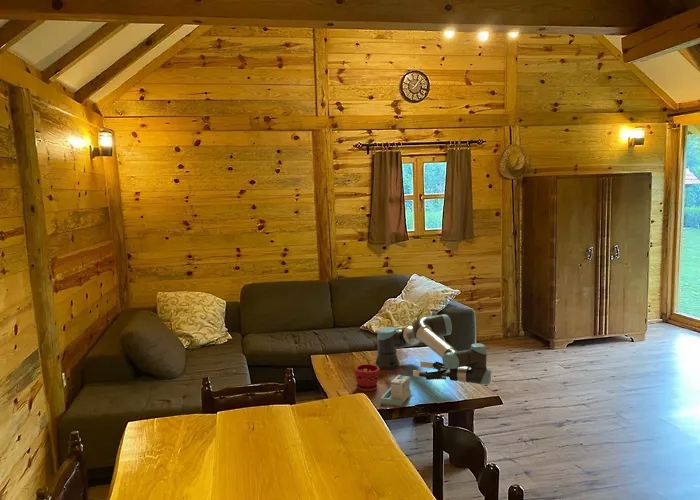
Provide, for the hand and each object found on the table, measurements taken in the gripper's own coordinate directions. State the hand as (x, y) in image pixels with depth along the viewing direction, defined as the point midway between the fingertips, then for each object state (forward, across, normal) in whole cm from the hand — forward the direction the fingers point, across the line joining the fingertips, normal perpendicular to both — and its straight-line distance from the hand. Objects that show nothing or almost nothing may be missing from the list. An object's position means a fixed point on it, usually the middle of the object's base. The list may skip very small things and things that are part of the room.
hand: (416, 368), depth 263 cm
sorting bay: (+10, -3, -17) cm, 20 cm away
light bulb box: (+8, -3, -16) cm, 19 cm away
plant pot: (+30, +7, -18) cm, 35 cm away
